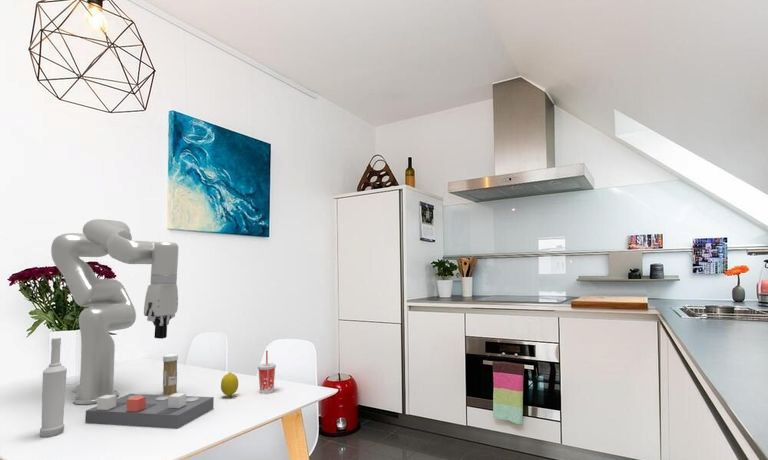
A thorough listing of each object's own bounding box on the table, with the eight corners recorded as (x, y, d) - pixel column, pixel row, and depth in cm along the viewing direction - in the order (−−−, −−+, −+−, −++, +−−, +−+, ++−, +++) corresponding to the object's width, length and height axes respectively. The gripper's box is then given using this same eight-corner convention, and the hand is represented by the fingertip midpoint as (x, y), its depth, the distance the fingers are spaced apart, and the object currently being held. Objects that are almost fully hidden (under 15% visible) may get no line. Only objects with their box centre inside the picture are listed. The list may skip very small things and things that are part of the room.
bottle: (48, 430, 114) (52, 337, 116) (68, 429, 115) (72, 336, 117) (34, 438, 109) (39, 340, 111) (55, 437, 109) (59, 339, 112)
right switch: (168, 407, 119) (168, 396, 120) (175, 404, 122) (175, 393, 122) (178, 408, 119) (179, 396, 119) (185, 404, 121) (186, 393, 122)
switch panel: (85, 423, 119) (85, 409, 120) (130, 404, 135) (130, 392, 135) (177, 428, 113) (178, 413, 114) (213, 408, 129) (213, 396, 129)
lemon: (232, 399, 138) (232, 374, 138) (217, 399, 139) (217, 374, 139) (241, 394, 143) (241, 370, 144) (226, 394, 144) (226, 370, 145)
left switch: (96, 409, 119) (97, 397, 120) (105, 406, 122) (106, 394, 123) (107, 410, 119) (107, 398, 119) (116, 406, 122) (116, 395, 122)
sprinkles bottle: (175, 395, 144) (176, 355, 145) (160, 396, 143) (161, 356, 144) (178, 391, 148) (179, 353, 149) (164, 393, 147) (165, 354, 148)
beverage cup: (274, 388, 150) (274, 348, 151) (276, 392, 144) (276, 351, 145) (257, 390, 147) (257, 349, 149) (258, 395, 142) (258, 353, 143)
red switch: (126, 411, 117) (126, 399, 118) (134, 407, 120) (135, 396, 120) (137, 411, 117) (137, 399, 117) (145, 408, 119) (145, 396, 120)
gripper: (170, 279, 144) (167, 333, 142) (135, 280, 129) (131, 341, 128) (189, 279, 142) (186, 334, 140) (156, 281, 127) (152, 343, 126)
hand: (160, 337), depth 134 cm, fingers closed
